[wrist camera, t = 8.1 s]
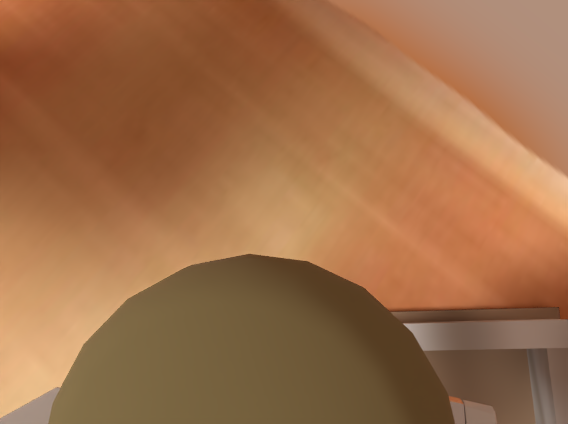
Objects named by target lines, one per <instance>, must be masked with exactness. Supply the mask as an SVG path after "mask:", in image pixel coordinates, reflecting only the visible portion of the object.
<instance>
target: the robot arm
mask: <svg viewBox="0 0 568 424" xmlns="http://www.w3.org/2000/svg"><path fill="white" fill-rule="evenodd" d="M59 390H60V388H59V387H56V388H54V389H53V390H51V391H49V392H47V393H45V394H43V395H42V396H40V397H38V398H36V399H34V400H33V401H31V402H29V403H27V404H25V405H24V406H22V407H20V408H18V409H16V410H14V411H13V412H11V413H9V414H7V415H5V416H4V417H2V418H0V424H48V422H49V417H50V413H51V408H52V404H53V401H54V399H55V397H56V396H57V394H58V392H59ZM449 400H450V404H451V408H452V413H453V417H454V421H455V424H497V420H496V413H495V411H494V409H493V407H492V406H489V405H484V404H480V403H475V402H471V401H466V400H461V399H460V398H456V397H451V396H449Z"/></svg>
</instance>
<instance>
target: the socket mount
mask: <svg viewBox="0 0 568 424" xmlns="http://www.w3.org/2000/svg"><path fill="white" fill-rule="evenodd" d="M391 313H392V314H393V315H394V316H395V317H396V318H397V319H398V320H399V321H400V322H401V323H403V324H404V325H405V326H406V327H407V328H408V329H409V330H410V331H411V332H412V333H413V334H414V336H415V338H416V340H417V341H418V343H419V345H420V346H421V348H422V350H423V352H424V353H425V355H426V357H427V358H428V360H429V362H430V364H431V365H432V367H433V369H434V370H435V372H436V374H437V376H438V377H439V379H440V381H441V383H442V384H443V386H444V388H445V389H446V391H447V393H448V396H451V397H456V398H460V399H461V400H466V401H471V402H475V403H480V404H484V405H489V406H492V407H493V409H494V411H495V413H496V420H497V424H568V319H560V313H559V307H551V308H515V309H480V310H444V311H408V312H391Z"/></svg>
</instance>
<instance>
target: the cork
mask: <svg viewBox="0 0 568 424" xmlns="http://www.w3.org/2000/svg"><path fill="white" fill-rule="evenodd" d="M48 424H455V421H454V417H453V413H452V408H451V404H450V400H449V396H448V393H447V391H446V389H445V388H444V386H443V384H442V383H441V381H440V379H439V377H438V376H437V374H436V372H435V370H434V369H433V367H432V365H431V364H430V362H429V360H428V358H427V357H426V355H425V353H424V352H423V350H422V348H421V346H420V345H419V343H418V341H417V340H416V338H415V336H414V334H413V333H412V332H411V331H410V330H409V329H408V328H407V327H406V326H405V325H404V324H403V323H401V322H400V321H399V320H398V319H397V318H396V317H395V316H394V315H393V314H392V313H391V312H390V311H388V310H387V309H386V308H385V307H384V306H383V305H382V304H381V303H380V302H379V301H378V300H377V299H376V298H374V297H373V296H372V295H371V294H370V293H369V292H368V291H367V290H366V289H365V288H363V287H361V286H359V285H357V284H355V283H353V282H350V281H348V280H346V279H344V278H342V277H340V276H338V275H336V274H333V273H331V272H329V271H327V270H325V269H323V268H321V267H319V266H316V265H314V264H312V263H310V262H308V261H300V260H292V259H284V258H276V257H269V256H261V255H253V254H246V255H241V256H236V257H231V258H226V259H221V260H216V261H210V262H205V263H200V264H195V265H191V266H189V267H186V268H184V269H182V270H180V271H178V272H176V273H175V274H173V275H171V276H169V277H167V278H165V279H164V280H162V281H160V282H158V283H156V284H155V285H153V286H151V287H149V288H147V289H145V290H144V291H142V292H140V293H138V294H136V295H134V296H133V297H131V298H129V299H127V300H126V301H125V303H124V304H123V305H122V306H121V307H120V308H119V309H118V310H117V311H116V312H115V313H114V314H113V315H112V316H111V317H110V318H109V319H108V320H107V321H106V322H105V323H104V324H103V325H102V326H101V327H100V328H99V329H98V330H97V331H96V332H95V333H94V334H93V335H92V336H91V337H90V338H89V340H88V341H87V342H86V343H85V344H84V345H83V347H82V349H81V351H80V352H79V354H78V356H77V358H76V360H75V362H74V364H73V366H72V367H71V369H70V371H69V373H68V375H67V377H66V379H65V381H64V382H63V384H62V386H61V388H60V390H59V392H58V394H57V396H56V397H55V399H54V401H53V404H52V408H51V413H50V417H49V422H48Z"/></svg>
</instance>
